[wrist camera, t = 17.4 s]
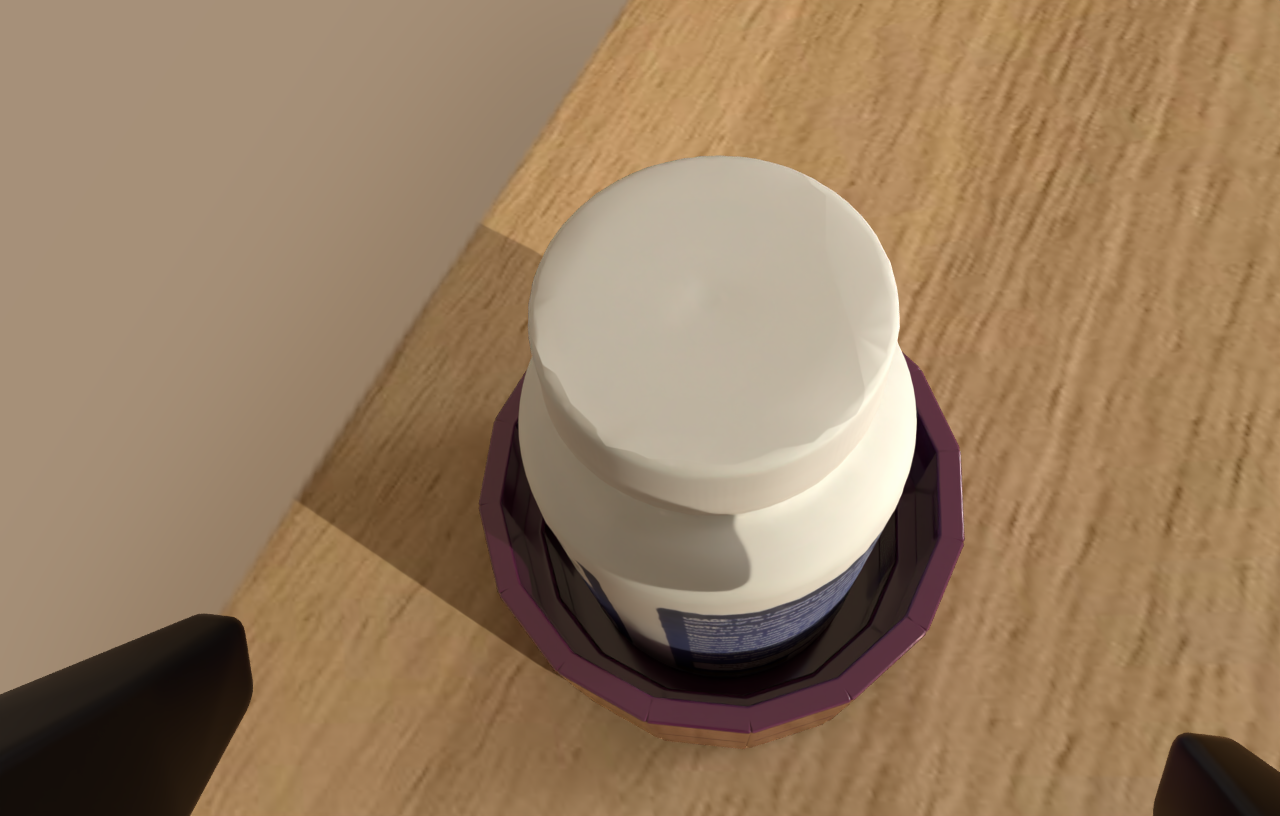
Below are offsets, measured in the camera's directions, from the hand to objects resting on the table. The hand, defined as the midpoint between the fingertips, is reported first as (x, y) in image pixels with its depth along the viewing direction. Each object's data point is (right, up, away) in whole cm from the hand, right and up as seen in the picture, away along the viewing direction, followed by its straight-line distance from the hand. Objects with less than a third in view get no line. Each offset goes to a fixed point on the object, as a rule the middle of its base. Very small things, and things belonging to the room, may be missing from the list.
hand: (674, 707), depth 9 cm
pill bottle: (+1, 0, +10) cm, 10 cm away
